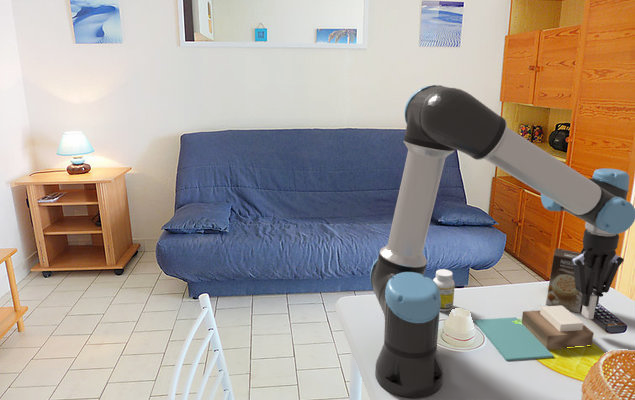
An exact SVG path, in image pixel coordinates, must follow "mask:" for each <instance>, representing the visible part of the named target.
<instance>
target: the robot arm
mask: <svg viewBox="0 0 635 400" xmlns="http://www.w3.org/2000/svg"><path fill="white" fill-rule="evenodd" d="M404 119H405V120H404V121H405V123H406V126H405V127H406V128H405V131H404V132H405V133H404V137H403V143H404V145H405V146H406V148H407V154H406V159H405V164H404V168H403V172H402V178H401V183H400V186H399V190H398V196H397V200H396V204H395V209H394V213H393V218H392V222H391V223H392V224H391V227H390V232H389V237H388V242H387V245H385V246H383V247H382V248H380V250H379V253H378V257H377V258H376V259H375V261H374V262H373V263H372V265H371V268H370V272H369V279H370V285H371V288H372V291H373V294H374V295H375V297H376V298H377V301H378V303H379V305H380V308H381V310H382V312H383V317H384V331H383V332H384V334H383V335H384V337H383V339H384V340H383V345H382V347H381V350H380V352H379V353H378V354H379V355H378V357H377V359H376V362H375V379H376V381H377V382H378V384H379V385H380V386H381V387H382V388H383V389H384V390H386V391H387V392H389V393H391V394H393V395H395V396H398V397H403V398H407V399H408V398H409V399H421V398H427V397H429V396H432V395H433V394H435V393H437V392H438V391H439V390H440V389H441V387H442V385H443V379H444V378H443V377H444V371H443V367H442V363H441V359H440V356H439V353H438V337H439V336H438V335H439V327H440V326H439V323H440V313H441V311H440V306H441V298H440V290H439V287H438V286H437V284H436V283H435V282H434V281H433V279H432V278H431V277H428V276H425V273H426V269H427V268H426V267H427V263H428V260H427V258H426V256H425V255H424V250H425V249H424V248H425V244H426V240H427V236H428V232H429V229H430V224H431V219H432V215H433V210H434V207H435V203H436V199H437V194H438V190H439V187H440V182H441V178H442V174H443V170H444V166H445V162H446V158H448V156H450V155H451V154H453V153H454V152H455V150H456V151H459V152H461V153H464V154H466V155H467V156H469V157H471V158H472V159H474V160H476V161H482V160H485V161H487V162H488V163H490V164H492V165H494V166H495V167H497V168H499V169H500V170H502V171H503V172H505V173H507V174H509V175H510V176H512V177H513V178H515V179H516V180H518V181H520V182H522V183H523V184H525V185H526V186H528V187H529V188H532V189H533V190H534V191H536V192H538V193H539V194H540V200H541V204H542V206H543V207H544V209H545V210H547V211H550V212H557V213H558V212H562V211H563V212H567V213H568V214H570V215H572V216H574V217H576V218H578V219H579V220H582V221H584V223H585V224H584V228H585V230H584V231H583V237H582V249H581V250H580V253H581V254H580V255H579V256H577V257H576V258H575V257H571V261H572V263H573V266H574V277H575V288H576V290H577V291H579V292H580V293H582V299H581V306H582V308H581V314H580V315H582V316H583V317H584V318H586V319H587V320H593V319H594V317H595V316H594V315H595V311H596V306H598V305H599V300H600V298H602V297H603V296H604V294H605V293H608V292H609V291H610V288H611V285H612V283H613V281H614V279H615V278H616V277H615V276H616V274H617V271H618V269H619V267H620V266H621V264H623V262H624V261H625V259H624V258H623V257H622V256H620V255H618V254H617V252H616V250H617V248H618V246H619V241H620V235H619V234H622V233H624V232H626V231H628V230H629V229H630V228H631V227H632V226H633V224H634V222H635V207H634V204H632V203H631V202H630V201H627V197H628V192H629V187H630V175H629V173H628V172H627V171H624V170H620V169H616V168H598V169H595V170H594V172H593V173H592V174H593V175H592V177H591V178H587V177H586V176H585V175H583V174H581V173H580V172H578V171H576V169H574V168H572V167H570V166H569V165H567V164H566V163H564V162H563V161H561V160H559V158H556V157H555V156H553V155H552V154H550V153H549V152H547V151H545V150H544V149H542V148H541V147H539V146H537V145H536V144H534V143H533V142H531V141H529V140H528V139H526V138H525V137H523V136H522V135H521V134H519V133H517V132H516V131H514V130H512V129H511V128H509V127H508V123H507V122H508V121H507V120H506V118H504V117H502V116H501V115H499V114H498V113H497V112H495V111H493V110H492V109H491V108H490V107H488V106H487V105H486V104H484V103H483V102H481V101H480V100H479V99H477V98H476V97H475V96H473V95H472V94H470V93H469V92H467V91H465V90H462V89H461V88H456V87H450V86H449V87H448V86H443V85H441V84H440V85H437V84H433V85H428V86H423V87H420V88H419V89H418V90H417V89H416V91H415V92H414V93H412V94H411V95H410V97H409V98H408V100H407V101H406V104H405V107H404ZM583 260H584V261H585V265H584V262H583ZM583 265H584V266H585V273H584V266H583Z"/></svg>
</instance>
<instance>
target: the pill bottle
mask: <svg viewBox="0 0 635 400" xmlns="http://www.w3.org/2000/svg"><path fill="white" fill-rule="evenodd" d="M453 276H454V273H453V271H451V270H449V269H443V268H442V269H441V268H440V269H437V270H436V271H435V277H434V278H433V279H432V280H433V281H434V282H435V283H436V284H437V286H438V287H439V290H440V298H441V306H440V312H449V311H452V310H453V307H454V296H455V288H456V287H455V286H456V285H455V281H454V279H453Z"/></svg>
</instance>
